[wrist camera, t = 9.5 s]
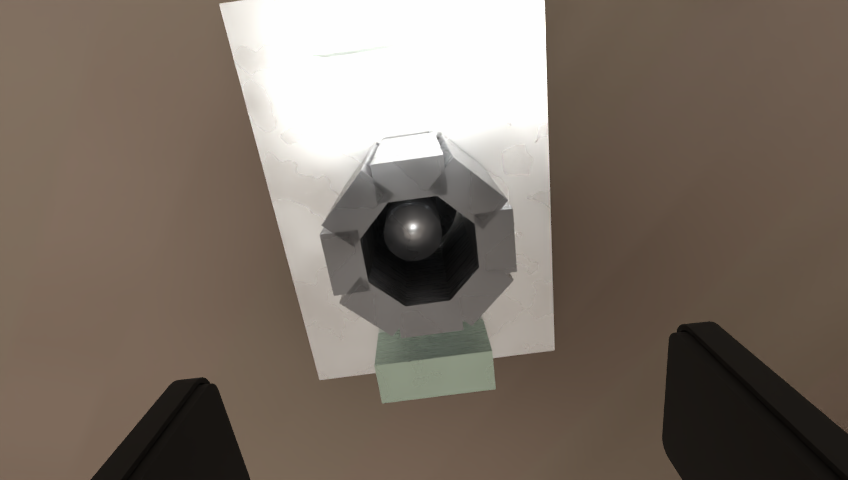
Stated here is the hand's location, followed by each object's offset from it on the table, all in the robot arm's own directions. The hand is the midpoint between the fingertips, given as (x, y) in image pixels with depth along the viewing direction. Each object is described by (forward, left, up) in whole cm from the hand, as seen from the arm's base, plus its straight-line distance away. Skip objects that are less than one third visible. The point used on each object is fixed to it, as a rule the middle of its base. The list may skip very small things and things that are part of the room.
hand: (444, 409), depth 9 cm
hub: (0, 0, -14) cm, 14 cm away
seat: (0, +1, -15) cm, 15 cm away
